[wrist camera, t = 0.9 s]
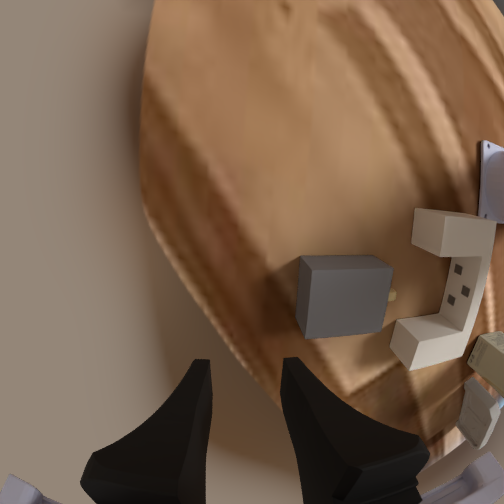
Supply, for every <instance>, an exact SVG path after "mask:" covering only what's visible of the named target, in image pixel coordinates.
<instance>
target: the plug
mask: <svg viewBox="0 0 504 504" xmlns="http://www.w3.org/2000/svg"><path fill="white" fill-rule="evenodd" d="M393 269H394V268H393V267H391V266H389V265H388V264H386V263H385V262H383V261H381V260H380V259H378V258H377V257H375V256H373V255H326V256H300V264H299V278H298V291H297V303H296V315H295V318H296V320H297V322H298V324H299V327H300V329H301V331H302V333H303V336H304V338H305V339H315V338H328V337H339V336H349V335H358V334H367V333H375V332H381V330H382V325H383V321H384V317H385V312H386V307H387V302H388V301H395V299H396V294H397V292H396V291H395V290H394V289H390V287H391V281H392V275H393Z"/></svg>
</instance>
